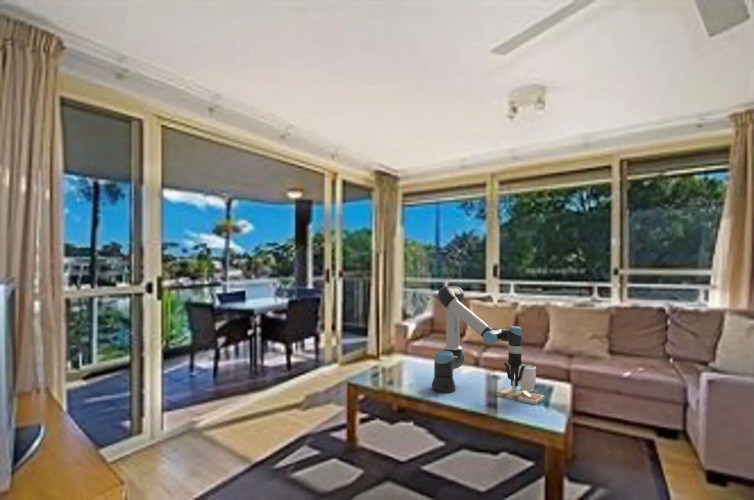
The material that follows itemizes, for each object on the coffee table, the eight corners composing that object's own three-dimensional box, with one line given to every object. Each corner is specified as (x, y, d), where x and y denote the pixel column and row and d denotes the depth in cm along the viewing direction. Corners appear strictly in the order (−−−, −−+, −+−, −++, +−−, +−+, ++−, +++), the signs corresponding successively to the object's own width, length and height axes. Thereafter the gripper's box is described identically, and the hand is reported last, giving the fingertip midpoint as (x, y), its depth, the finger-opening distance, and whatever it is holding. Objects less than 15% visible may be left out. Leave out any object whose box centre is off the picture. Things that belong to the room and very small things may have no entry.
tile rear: (520, 394, 262) (522, 391, 261) (523, 392, 265) (525, 390, 265) (527, 399, 259) (528, 397, 259) (530, 397, 263) (531, 395, 262)
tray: (518, 401, 258) (518, 397, 258) (527, 395, 268) (527, 392, 269) (535, 404, 251) (535, 401, 251) (544, 399, 262) (544, 395, 262)
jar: (514, 388, 283) (515, 365, 283) (527, 387, 287) (527, 364, 287) (526, 393, 273) (526, 369, 273) (539, 391, 277) (539, 367, 277)
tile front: (536, 398, 256) (536, 401, 256) (539, 396, 259) (539, 399, 259) (529, 396, 258) (529, 399, 258) (532, 395, 262) (532, 398, 262)
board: (495, 395, 268) (495, 391, 268) (504, 391, 277) (504, 387, 277) (517, 400, 259) (517, 396, 259) (525, 395, 268) (525, 391, 268)
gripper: (502, 351, 268) (501, 390, 268) (523, 355, 260) (522, 395, 260) (507, 349, 274) (506, 388, 274) (528, 353, 266) (527, 392, 265)
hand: (514, 391), depth 267 cm, fingers closed
